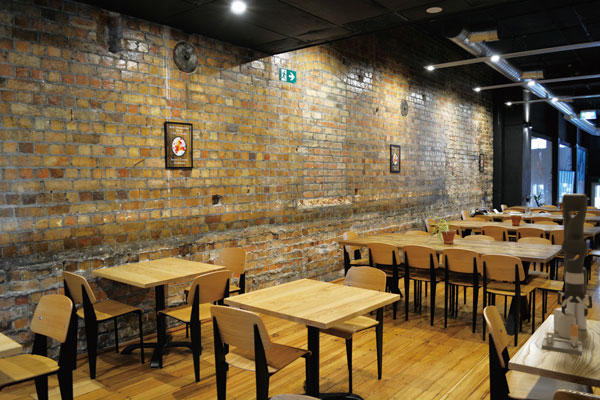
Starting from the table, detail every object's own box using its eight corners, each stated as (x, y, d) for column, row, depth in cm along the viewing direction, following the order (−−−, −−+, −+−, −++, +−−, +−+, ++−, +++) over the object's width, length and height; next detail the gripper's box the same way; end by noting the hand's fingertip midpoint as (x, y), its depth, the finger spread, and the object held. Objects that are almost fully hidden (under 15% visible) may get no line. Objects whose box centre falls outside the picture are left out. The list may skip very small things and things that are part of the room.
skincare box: (561, 333, 233) (561, 311, 232) (553, 331, 236) (553, 309, 236) (568, 331, 235) (568, 309, 235) (560, 329, 239) (560, 307, 239)
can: (571, 334, 230) (571, 312, 230) (578, 339, 223) (578, 316, 222) (556, 334, 231) (556, 312, 231) (563, 339, 224) (563, 316, 223)
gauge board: (541, 348, 213) (541, 334, 213) (543, 340, 223) (543, 327, 223) (582, 354, 204) (582, 340, 204) (582, 346, 214) (582, 333, 214)
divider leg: (570, 347, 208) (570, 328, 208) (570, 342, 214) (570, 323, 214) (577, 348, 206) (577, 329, 206) (578, 343, 213) (578, 324, 212)
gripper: (592, 281, 210) (592, 315, 211) (557, 278, 218) (557, 310, 218) (592, 284, 204) (592, 319, 204) (556, 281, 211) (556, 314, 212)
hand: (574, 314), depth 211 cm, fingers open, 8 cm apart
